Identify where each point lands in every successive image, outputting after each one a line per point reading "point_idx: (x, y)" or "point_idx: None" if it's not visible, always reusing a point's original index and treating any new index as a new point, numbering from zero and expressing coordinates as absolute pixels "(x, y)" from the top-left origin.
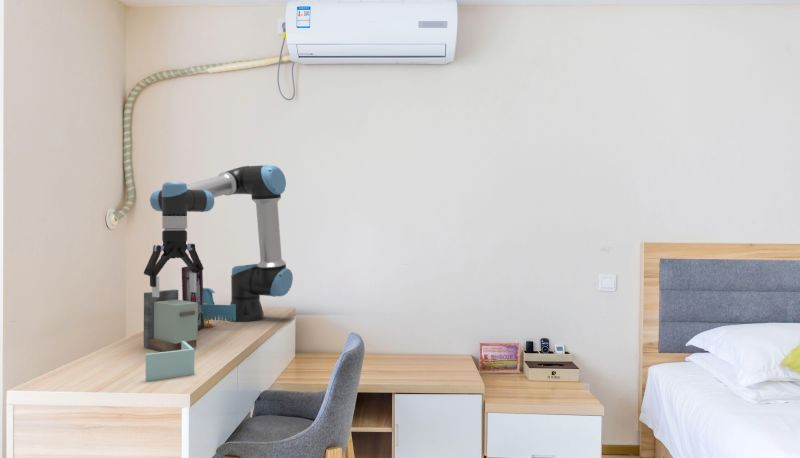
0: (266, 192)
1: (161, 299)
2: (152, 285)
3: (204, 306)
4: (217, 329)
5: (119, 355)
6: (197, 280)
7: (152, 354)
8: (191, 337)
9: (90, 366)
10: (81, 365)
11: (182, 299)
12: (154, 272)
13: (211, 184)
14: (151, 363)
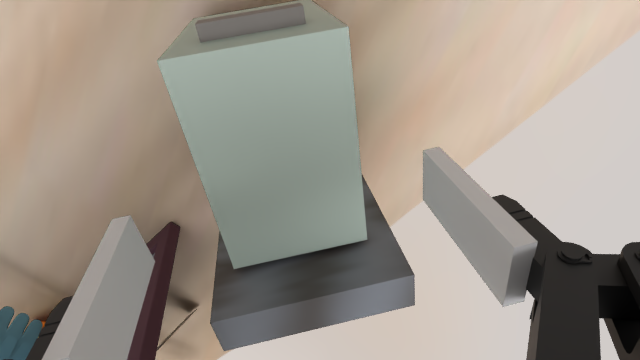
0: None
1: (320, 261)
2: (514, 201)
3: None
4: (28, 276)
5: (444, 101)
6: (59, 309)
7: None
8: (225, 14)
9: (573, 12)
10: (575, 46)
11: (156, 349)
12: (596, 277)
13: None
14: None
